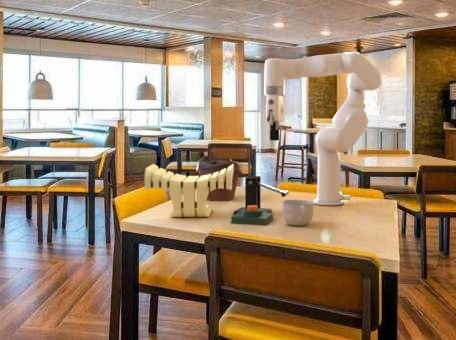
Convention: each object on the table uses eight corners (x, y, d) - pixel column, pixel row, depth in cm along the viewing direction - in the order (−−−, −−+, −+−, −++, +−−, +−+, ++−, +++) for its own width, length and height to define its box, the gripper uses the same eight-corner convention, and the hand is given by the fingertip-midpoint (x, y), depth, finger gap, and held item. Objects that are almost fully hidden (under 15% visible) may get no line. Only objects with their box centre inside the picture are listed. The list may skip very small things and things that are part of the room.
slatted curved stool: (145, 219, 189) (144, 168, 187) (154, 210, 204) (153, 163, 202) (231, 218, 192) (231, 169, 189) (233, 209, 207) (233, 163, 205)
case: (240, 202, 223) (240, 159, 220) (192, 201, 223) (191, 158, 221) (246, 195, 240) (246, 155, 238) (201, 194, 240) (201, 154, 238)
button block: (272, 219, 192) (272, 208, 191) (264, 225, 182) (264, 213, 182) (240, 217, 194) (240, 206, 194) (231, 223, 185) (231, 211, 184)
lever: (287, 196, 201) (289, 190, 200) (284, 198, 196) (286, 192, 195) (250, 182, 203) (252, 176, 203) (246, 184, 198) (248, 178, 198)
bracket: (271, 211, 205) (271, 175, 203) (264, 216, 196) (265, 179, 194) (241, 210, 207) (241, 174, 206) (233, 214, 198) (233, 177, 197)
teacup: (281, 220, 189) (282, 198, 188) (312, 220, 190) (312, 198, 189) (283, 230, 176) (283, 205, 175) (316, 229, 177) (316, 205, 176)
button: (258, 210, 189) (259, 205, 189) (255, 212, 186) (255, 207, 185) (249, 209, 190) (249, 204, 190) (245, 211, 186) (245, 206, 186)
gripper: (279, 91, 195) (278, 141, 197) (289, 92, 209) (288, 139, 211) (259, 91, 196) (259, 141, 198) (270, 92, 211) (270, 138, 213)
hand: (274, 140), depth 205 cm, fingers closed
